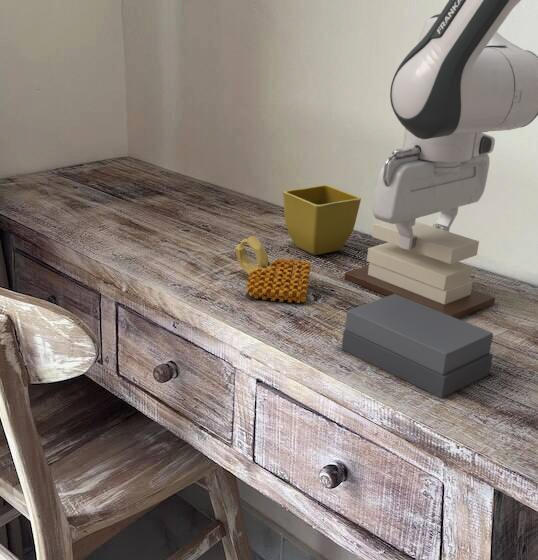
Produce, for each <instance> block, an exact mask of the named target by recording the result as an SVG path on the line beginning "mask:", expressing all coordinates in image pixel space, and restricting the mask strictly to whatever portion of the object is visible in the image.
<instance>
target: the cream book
mask: <svg viewBox="0 0 538 560" xmlns="http://www.w3.org/2000/svg"><path fill="white" fill-rule="evenodd" d="M412 230H413V235H416V236H417V240H416V246H415V247H414V248H411V249H408V250H411V251H414V252H417V253H420V254H423V255H426V256H429V257H431V258H434V259H437V260H440V261H443V262H446V263H449V264H452V263H455V262H461V261H463V260H467V259H470V258H473V257H475V256H478V250H479V244H480V240H476V239H473V238H470V237H467V236H464V235H461V234H457V233H454V232H451V231H449V232H448V231H445V230H441V229H438V228H435V227H433V225H428V224H426V223H422V222H419V221H417V220H415V225H414V226H412ZM371 237H372V238H374V239H377V240H380V241H382V242H385V243H391V244H394V245H397V246H399V237H400V234H399V232H398V229H397V226H396V224H391V223H388V222H384V221H381V220H380V221H377V222H374V223H373V224H372V232H371Z"/></svg>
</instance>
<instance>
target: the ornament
mask: <svg viewBox="0 0 538 560" xmlns="http://www.w3.org/2000/svg"><path fill="white" fill-rule="evenodd" d="M245 244H247V246H248V247H249V248H250V249H251V250H252V252H253V253H254V255H255V258H256V261H257V263H256V265H255V264H254V263H253V262H252V261H251V259H250V258H249V257H248V255H247V251H246V249H247V248H246V246H245ZM234 249H235V252H236V253H235V254H236V257H237V261H238V264H239V266H240V267H241V269H242V270H243V271H244V273H245V274H246V275H247V276H248V278H247V282H246V293H247V294H248V295H249V296H250V297H253V299H255V300H256V299H257V300H259V298H261V300H262V301H263V300H264V301H266V300H268V299H270V301H271V302H275V301H276V300H278V302H279V303H280V302H284V300H285V301H286V300H287V303H292V302H293V301H295V303H298V304H300V303H301V302H302V303H304V302H306V301H307V296H308V293H307V292H308V291H307V290H309V285H308V284H309V282H310V281H309V280H310V274H311V268H312V265H311V263H308V262H307V260H303V261H302V260H299V259H295V260H294V259H290V258H286V259H285V258H277V260H274V261H272V262H271V261H269V256H268V253H267V251H266V248H265V247H264V245H263V243H262V242H261V241H260V240H259V239H258V238H257V237H256V236H255V235H249V236H248V238H243V240H241V241H240V243H239V244H237V246H235V247H234Z"/></svg>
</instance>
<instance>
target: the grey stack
mask: <svg viewBox="0 0 538 560" xmlns="http://www.w3.org/2000/svg"><path fill="white" fill-rule="evenodd" d="M345 317H346V318H345V325H344V330H343V332H342V333H343V334H342V343H341V350H342V351H343V352H346V353H348V354H350V355H352V356H354V357H356V358H358V359H361V360H362V361H365V362H367V363H369V364H371V365H373V366H374V367H377V368H379V369H381V370H383V371H385V372H387V373H388V374H391V375H393V376H395V377H397V378H399V379H401V380H403V381H405V382H408V383H410V384H411V385H413V386H415V387H418V388H419V389H422V390H424V391H426V392H428V393H429V394H432V395H434V396H436V397H438V398H440V399H443V398H445V397H447V396H449V395H451V394H453V393H455V392H457V391H459V390H461V389H463V388H465V387H467V386H468V385H471V384H473V383H475V382H477V381H479V380H481V379H483V378H485V377H487V376H489V375H490V372H491V365H492V362H493V354H492V353H491V347H492V342H493V337H494V332H491V331H489V330H486V329H484V328H481V327H479V326H477V325H474V324H471V323H469V322H467V321H464V320H461V319H460V318H459V319H457V318H454V317H452V316H449V315H447V314H444V313H442V312H439V311H437V310H434V309H432V308H429V307H427V306H424V305H422V304H419V303H417V302H414V301H412V300H409V299H407V298H404V297H402V296H399V295H397V294H393V295H390V296H384V297H381V298H378V299H376V300H373V301H370V302H367V303H364V304H362V305H359V306H355V307H352V308H349V309H347V310H346V316H345Z"/></svg>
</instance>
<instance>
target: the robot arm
mask: <svg viewBox="0 0 538 560" xmlns="http://www.w3.org/2000/svg"><path fill="white" fill-rule="evenodd" d="M520 2H522V0H448V1H447V3H446V4H445V5H444V7H443V9H442V11H441V12H440V13H437V14H435V15H433V16H431V17H429V18H428V19H426V21H425V22H424V24H423V26H422V28H421V32H420V34H419V38H418V41H417V44H416V45H415V46H414V47H413V48H412V49H411V50H410V51H409V52H408V54H406V56H405V57H404V58H403V60H402V61H401V63H400V64H399V65H398V67H397V69H396V71H395V73H394V75H393V78H392V80H391V83H390V92H389V98H390V99H389V100H390V104H391V108H392V111H393V113H394V115H395V117H396V118H397V120H398V121H399V123H400V124H401V125H402V126H403V128H404V135H403V141H402V148H398V149H394V150H393V151H392V152H391V154H390V156H388V158H387V159H386V160H385V161H384V164H383V165H382V167H381V169H380V170H379V171H380V172H379V175H378V178H377V182H376V186H375V191H374V195H373V202H372V206H371V207H372V208H371V209H372V210H371V212H372V214H373V217H374V218H375V219H376V220H379V221H380V222H381V221H384V222H388V223H391V224H396V226H397V229H398V232H399V234H400V237H399V247H400V248H403V249H406V250H408V249H411V248H414V247H415V246H416V240H417V236H416V235H413V230H412V226H414V225H415V221H417V220H416V219H419V218H422V217H426V216H430V215H433V214H437V213H439V216H438V218H437V221H436V223H434V224H432V227H435V228H438V229H441V230H445V231H448V232H450V230H451V226H452V224H453V223H454V221H455V219H456V217H457V215H458V212H459V208H460V207H463V206H467V205H471V204H474V203H477V202H479V201H480V199H481V198H482V196H483V195H484V192H485V189H486V185H487V181H488V175H489V170H490V169H489V168H490V155H489V154H491V153H492V152H494V148H495V144H496V140H495V137H494V136H492V135H489V134H487V133H488V132H500V131H512V130H517V129H519V128H520V129H521V128H524V127H526V126H529V125H530V124H531V123H532V122H534V120H535V119H536V118H537V117H538V55H537V54H535V53H534V52H533V51H530V50H528V49H524V48H522V47H520V46H518V45H516V44H514V43H512V42H511V41H509V40H508V39H506V38H505V37H503V36H502V34H500V33H499V32H498V31H499V29H500V27H501V26H502V25H503V23H504V22H505V20H506V19H507V18H508V16H509V15H510V14H511V12H512V11H513V10H514V8H515V7H517V5H518V4H519V3H520Z"/></svg>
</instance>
